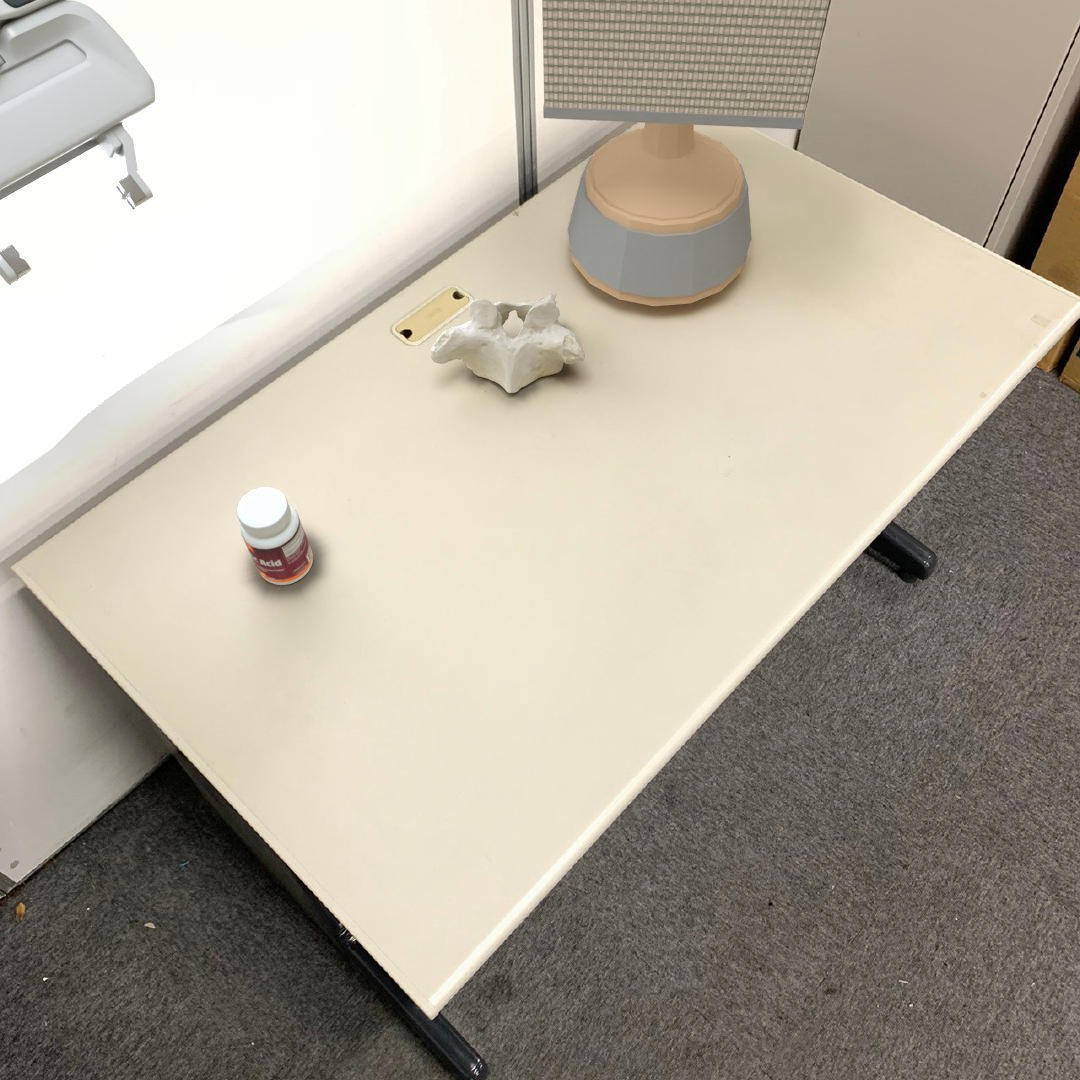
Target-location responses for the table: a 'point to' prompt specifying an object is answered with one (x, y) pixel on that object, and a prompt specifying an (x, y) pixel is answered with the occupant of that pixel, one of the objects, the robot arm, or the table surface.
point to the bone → (510, 342)
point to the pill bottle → (274, 536)
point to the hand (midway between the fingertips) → (83, 239)
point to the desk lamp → (672, 130)
